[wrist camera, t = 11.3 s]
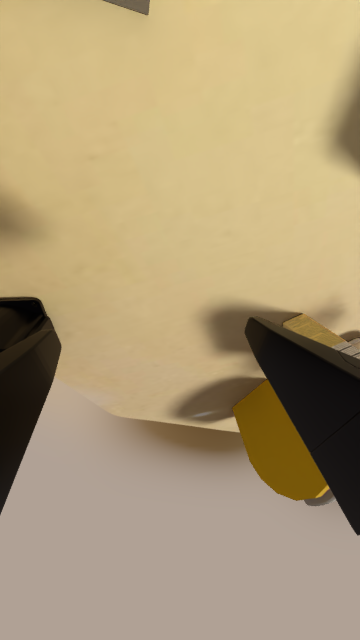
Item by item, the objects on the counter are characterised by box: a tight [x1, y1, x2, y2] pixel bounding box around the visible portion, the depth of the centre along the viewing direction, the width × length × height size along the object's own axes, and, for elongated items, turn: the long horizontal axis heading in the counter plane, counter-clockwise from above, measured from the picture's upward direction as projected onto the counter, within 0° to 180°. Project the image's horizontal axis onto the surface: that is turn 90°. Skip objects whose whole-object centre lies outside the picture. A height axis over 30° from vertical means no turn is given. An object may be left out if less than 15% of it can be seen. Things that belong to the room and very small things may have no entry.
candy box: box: [283, 314, 360, 359], centre depth 25 cm, size 9×4×15 cm, turn 22°
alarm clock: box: [232, 379, 336, 506], centre depth 34 cm, size 15×8×18 cm, turn 142°
